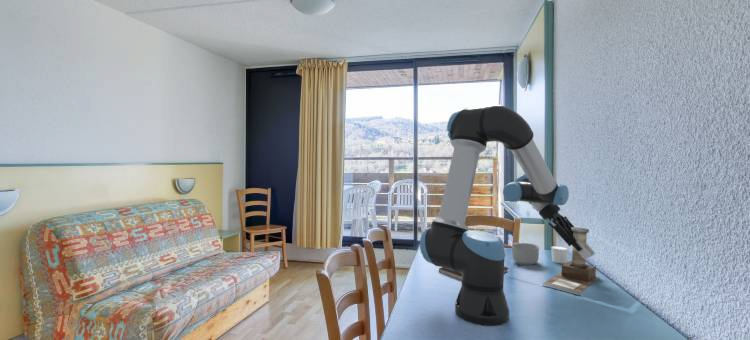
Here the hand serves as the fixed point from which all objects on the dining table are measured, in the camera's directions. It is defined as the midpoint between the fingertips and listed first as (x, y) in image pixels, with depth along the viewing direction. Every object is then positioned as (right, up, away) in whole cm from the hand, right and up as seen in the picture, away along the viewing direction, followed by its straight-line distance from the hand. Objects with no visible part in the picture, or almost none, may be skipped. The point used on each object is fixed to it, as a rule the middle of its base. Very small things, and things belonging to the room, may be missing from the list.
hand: (590, 256), depth 131 cm
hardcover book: (-40, -9, +10) cm, 43 cm away
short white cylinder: (0, -9, +22) cm, 24 cm away
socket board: (-8, -9, -2) cm, 12 cm away
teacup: (-15, -9, +23) cm, 29 cm away
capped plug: (-3, -6, +3) cm, 7 cm away
